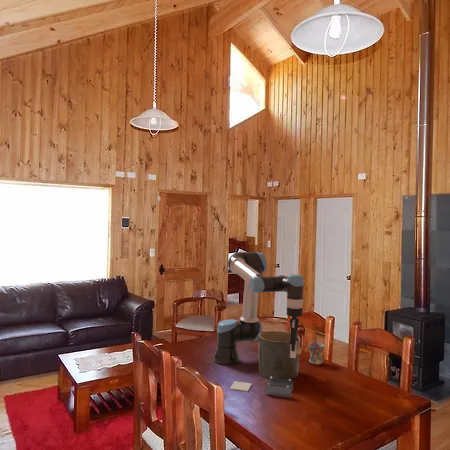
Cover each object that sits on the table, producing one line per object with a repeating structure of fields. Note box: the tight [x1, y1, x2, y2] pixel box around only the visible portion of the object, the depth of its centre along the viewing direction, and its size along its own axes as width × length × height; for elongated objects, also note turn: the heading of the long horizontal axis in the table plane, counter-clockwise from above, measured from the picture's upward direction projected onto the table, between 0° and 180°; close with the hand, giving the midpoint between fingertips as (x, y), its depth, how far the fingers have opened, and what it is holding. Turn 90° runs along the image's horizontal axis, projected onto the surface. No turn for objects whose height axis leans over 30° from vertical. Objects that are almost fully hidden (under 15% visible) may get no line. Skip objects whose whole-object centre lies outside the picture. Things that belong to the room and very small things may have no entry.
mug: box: [304, 342, 325, 366], centre depth 232 cm, size 12×9×11 cm
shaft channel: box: [264, 377, 294, 399], centre depth 189 cm, size 12×10×5 cm
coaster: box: [229, 380, 252, 393], centre depth 195 cm, size 9×9×1 cm
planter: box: [258, 330, 301, 380], centre depth 215 cm, size 22×22×20 cm
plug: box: [286, 343, 302, 358], centre depth 188 cm, size 7×4×6 cm, turn 79°
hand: (293, 355), depth 188 cm, fingers closed on plug, 4 cm apart
